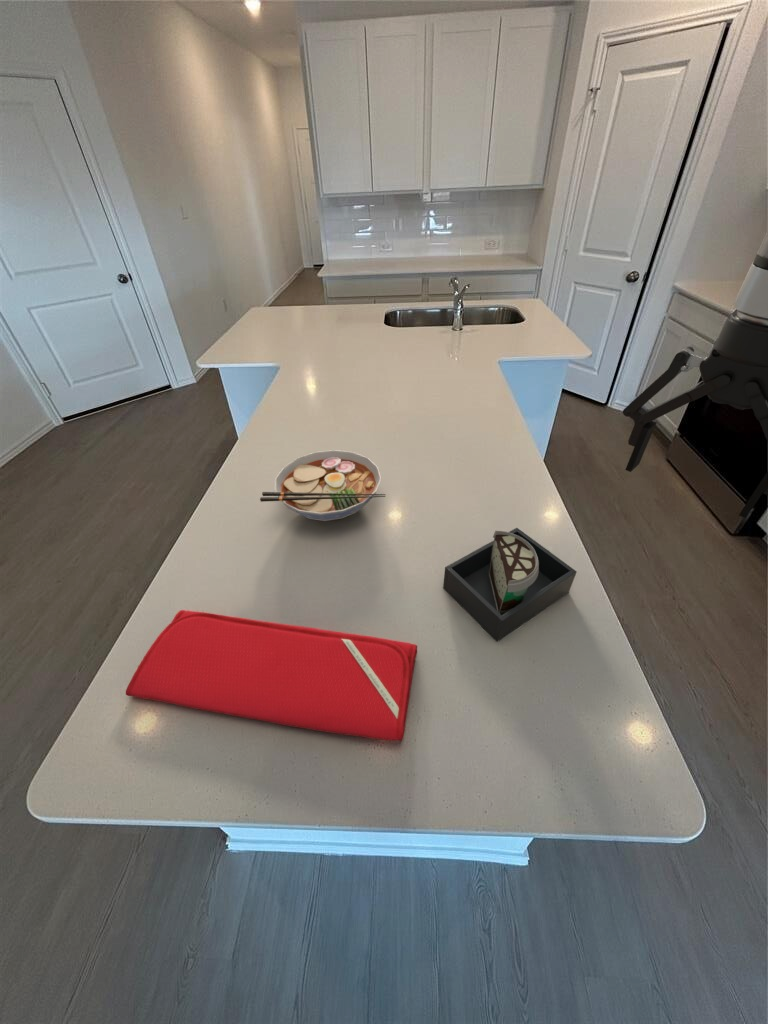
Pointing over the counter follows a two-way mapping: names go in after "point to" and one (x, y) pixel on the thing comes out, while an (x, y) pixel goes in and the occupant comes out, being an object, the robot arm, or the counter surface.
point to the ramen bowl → (326, 484)
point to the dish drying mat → (280, 674)
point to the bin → (476, 595)
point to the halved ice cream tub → (511, 569)
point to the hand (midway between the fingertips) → (684, 488)
